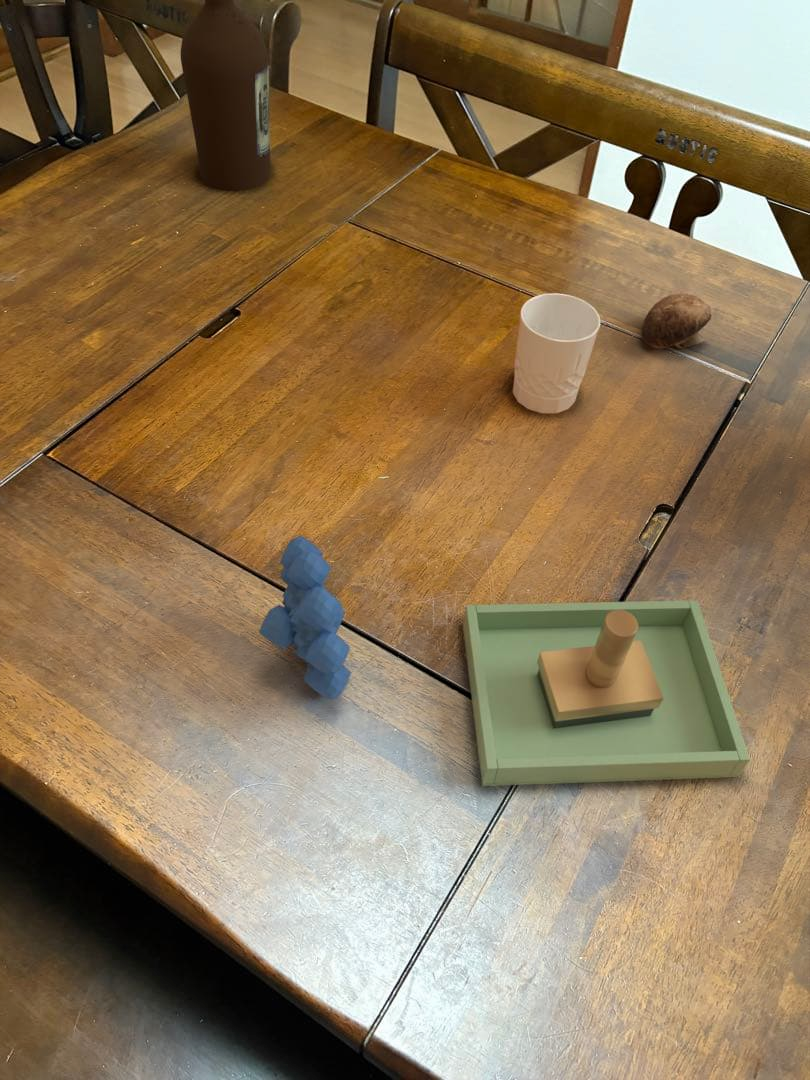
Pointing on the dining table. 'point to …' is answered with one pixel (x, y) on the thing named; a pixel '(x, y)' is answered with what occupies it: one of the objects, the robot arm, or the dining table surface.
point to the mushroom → (676, 321)
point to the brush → (600, 677)
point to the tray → (607, 747)
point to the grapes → (310, 619)
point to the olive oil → (228, 96)
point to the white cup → (553, 351)
